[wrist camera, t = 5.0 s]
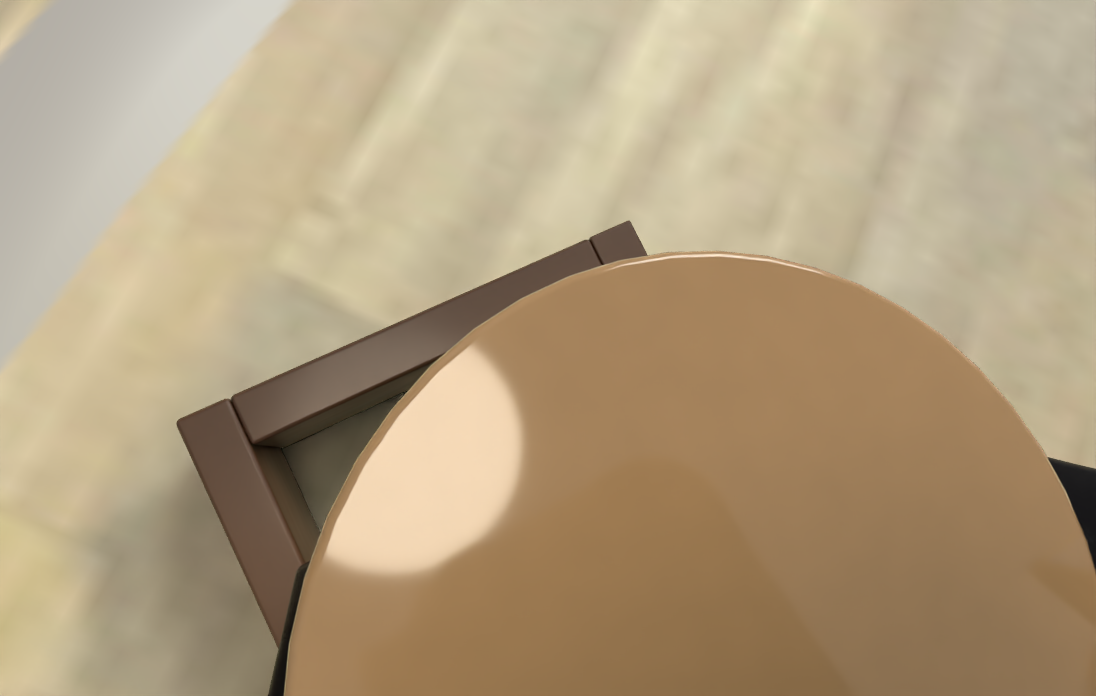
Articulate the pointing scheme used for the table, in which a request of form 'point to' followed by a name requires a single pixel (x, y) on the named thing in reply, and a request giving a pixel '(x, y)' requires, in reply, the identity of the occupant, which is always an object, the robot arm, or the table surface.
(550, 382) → the canister
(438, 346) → the rack
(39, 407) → the table surface
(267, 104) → the table surface
